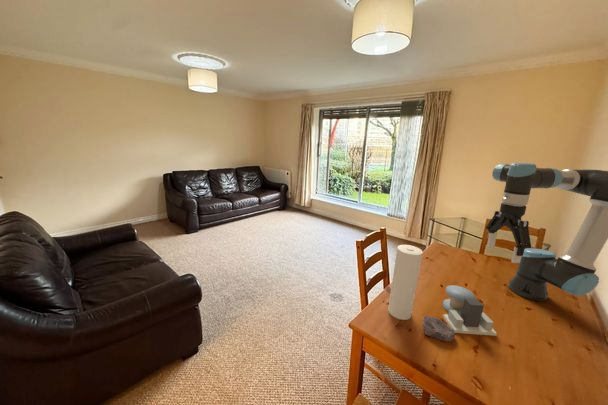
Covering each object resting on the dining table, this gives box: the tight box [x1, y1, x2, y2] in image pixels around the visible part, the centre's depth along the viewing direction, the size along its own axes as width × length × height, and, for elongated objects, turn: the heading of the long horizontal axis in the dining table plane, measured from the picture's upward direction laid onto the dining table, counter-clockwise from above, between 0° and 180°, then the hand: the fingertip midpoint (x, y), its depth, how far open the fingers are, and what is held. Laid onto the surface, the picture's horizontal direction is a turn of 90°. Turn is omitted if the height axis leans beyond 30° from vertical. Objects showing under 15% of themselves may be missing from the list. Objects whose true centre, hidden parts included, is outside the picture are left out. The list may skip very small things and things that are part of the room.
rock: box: [422, 315, 456, 342], centre depth 95 cm, size 8×11×5 cm
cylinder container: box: [387, 244, 424, 321], centre depth 103 cm, size 9×9×30 cm
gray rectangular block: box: [461, 298, 485, 327], centre depth 99 cm, size 5×4×10 cm
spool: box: [442, 284, 476, 316], centre depth 110 cm, size 11×11×8 cm
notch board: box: [442, 310, 497, 337], centre depth 100 cm, size 16×9×5 cm, turn 87°
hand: (501, 254), depth 100 cm, fingers open, 13 cm apart
